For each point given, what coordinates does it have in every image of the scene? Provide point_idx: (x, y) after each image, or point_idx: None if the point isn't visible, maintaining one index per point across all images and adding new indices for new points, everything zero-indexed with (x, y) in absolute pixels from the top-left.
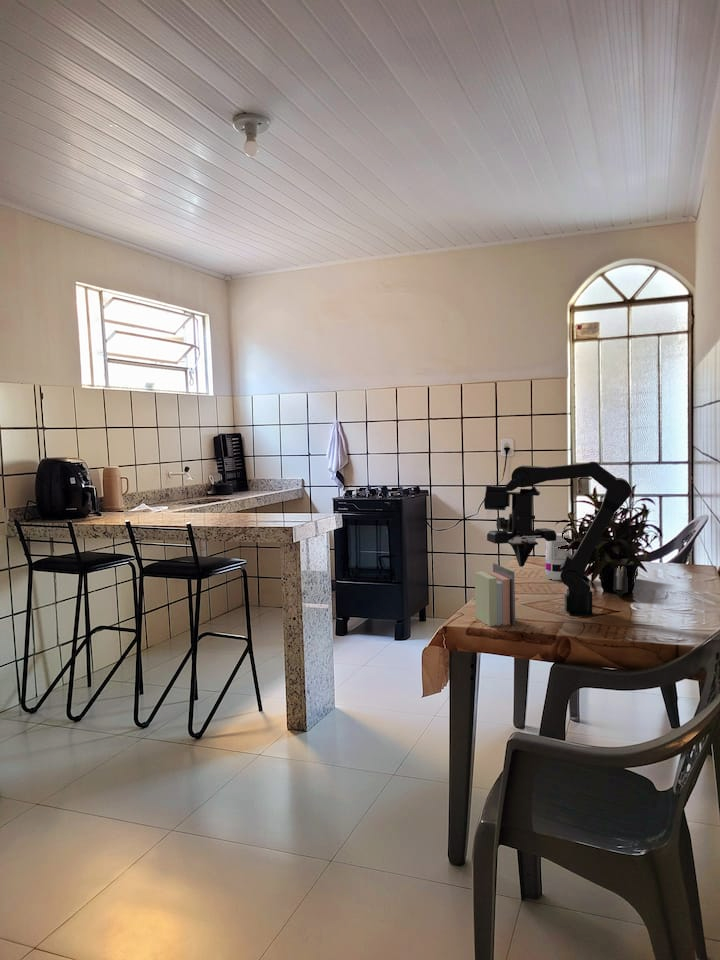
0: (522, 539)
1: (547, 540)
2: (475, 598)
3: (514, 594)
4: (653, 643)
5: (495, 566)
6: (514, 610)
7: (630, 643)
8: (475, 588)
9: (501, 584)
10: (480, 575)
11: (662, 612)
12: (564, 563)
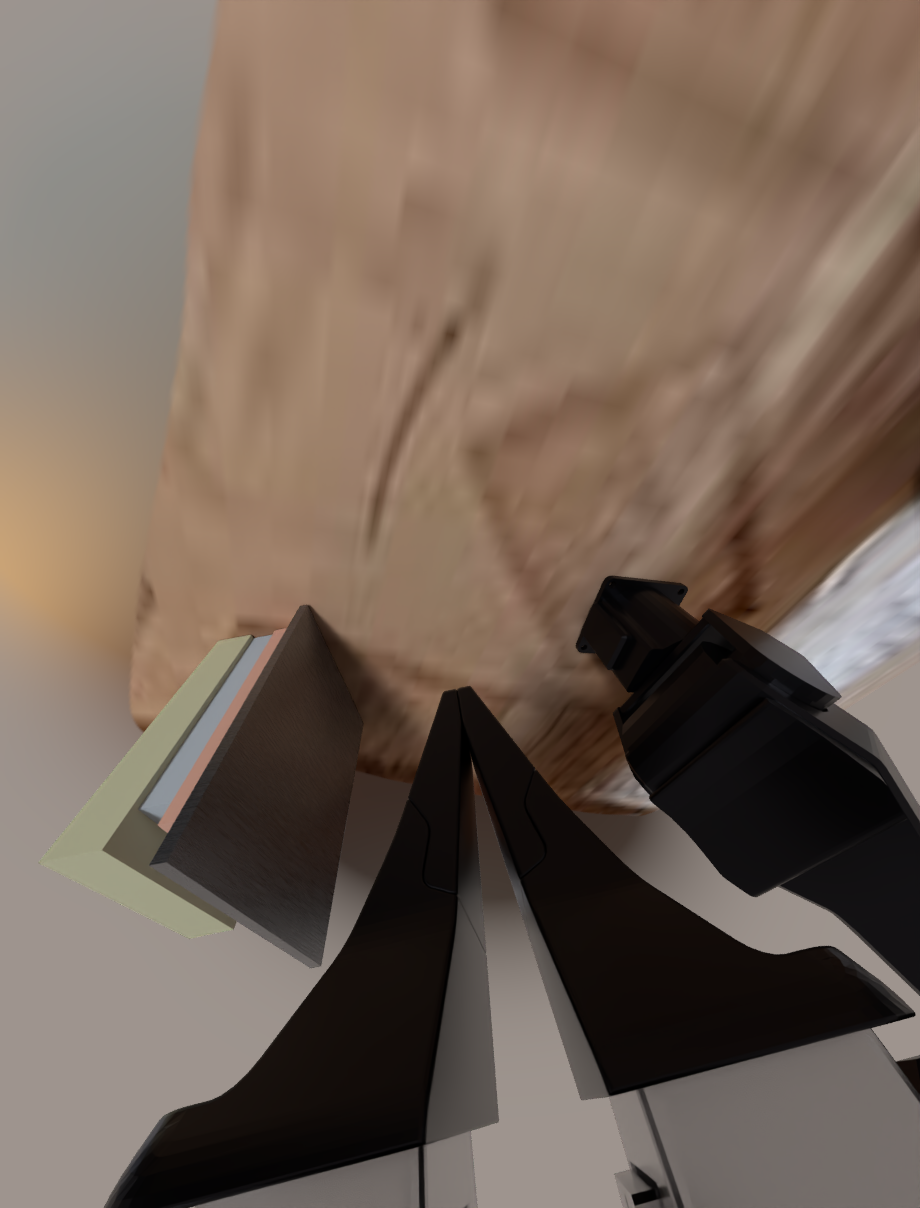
0: (655, 1153)
1: (912, 1081)
2: (170, 703)
3: (343, 831)
4: (612, 804)
5: (192, 868)
6: (353, 769)
7: (573, 806)
8: (133, 750)
9: None
10: (116, 894)
11: (849, 632)
12: (713, 823)
